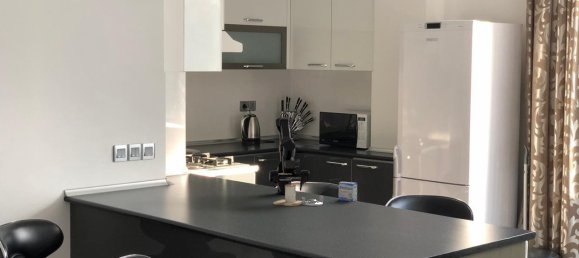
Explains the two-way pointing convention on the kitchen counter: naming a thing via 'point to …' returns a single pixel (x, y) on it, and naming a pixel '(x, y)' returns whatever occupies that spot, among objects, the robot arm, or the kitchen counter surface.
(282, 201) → the board
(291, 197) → the whitish cup
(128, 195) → the kitchen counter surface
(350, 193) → the medicine box
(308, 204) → the clear glass bowl
